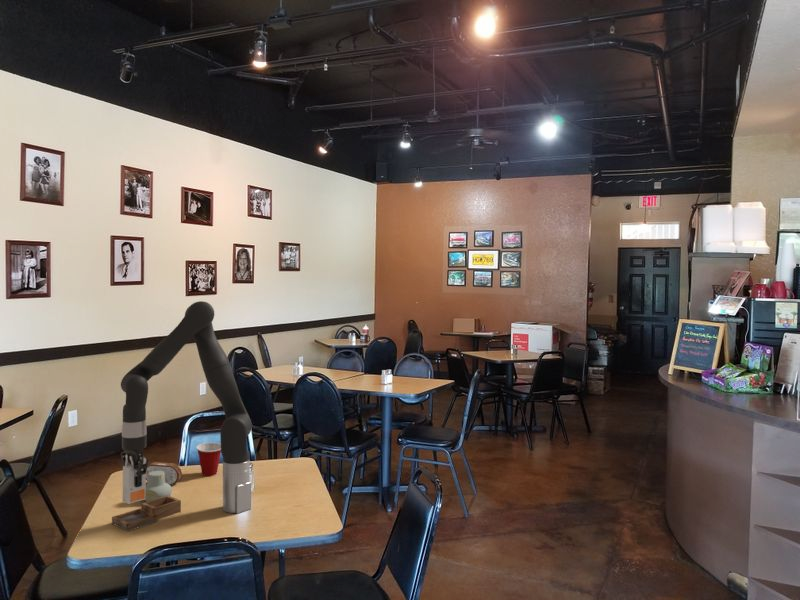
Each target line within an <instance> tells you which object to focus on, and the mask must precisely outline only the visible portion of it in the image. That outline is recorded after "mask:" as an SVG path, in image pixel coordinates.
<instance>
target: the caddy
mask: <svg viewBox="0 0 800 600" xmlns="http://www.w3.org/2000/svg"><path fill="white" fill-rule="evenodd" d="M181 501H182V500H181V499H178V498H175V497H174V496H171V495H170V496H164V497H161V498H158V499H154V500H151V501H148V502H147V501H145V502H142V503H140V505H141V508H138V509H137V508H136V509H133V510H130V511H127V512H124V513H120V514H117V515H114V516H112V517H111V524H112V523H114V524H116V525H118V526H120V527H122V528H123V529H122V528H121V529H122V530H124V529H125V530H124V531H126V530H127V531H126V532H129V531H128V530H130V531H132V530H131V529H133V530H135V529H134V528H136V529H138V528H137V527H139V528H141V526H142V527H145V526H147V525H151V524H153V523H154V524H155V523H156V522H157V521H158V520H159V519H163V518H166V517H169V516H172V515H175V514H179V513H181V511H182V510H181V509H182V505H181V504H182V502H181ZM114 524H113V525H114ZM116 525H115V526H116ZM118 526H117V527H118ZM120 527H119V528H120Z"/></svg>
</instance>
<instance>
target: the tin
mask: <svg viewBox="0 0 800 600" xmlns="http://www.w3.org/2000/svg"><path fill="white" fill-rule="evenodd" d="M152 471H163V472H164V473H165V483H167V484H169V485H170V486H174V485H175V484H177V483H179V482H180V481H181V479H182V476H183V472H182V469H181V467H180V466H179V465H178V464H176V463H173V462H171V463H170V462H159V461H153V462H151V463H149V464H148V465H147V471H146V481H147V476H148V473H150V472H152Z"/></svg>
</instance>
